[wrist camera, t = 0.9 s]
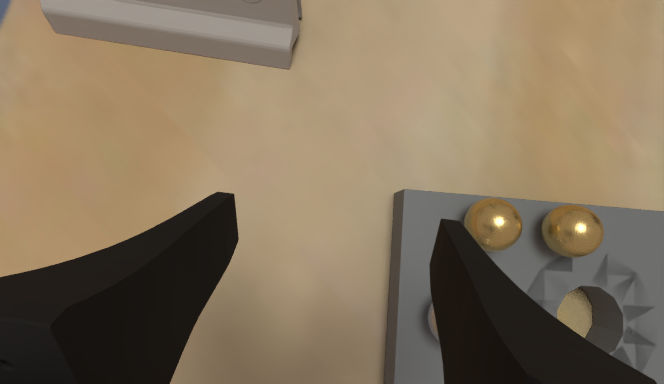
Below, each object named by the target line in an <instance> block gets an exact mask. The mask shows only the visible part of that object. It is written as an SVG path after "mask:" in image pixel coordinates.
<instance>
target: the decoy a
mask: <svg viewBox="0 0 664 384" xmlns="http://www.w3.org/2000/svg"><path fill="white" fill-rule="evenodd" d="M464 227H465V228H466V229H467V230H468V232H469V233H470V234H471V235H472V237H473V238H474V239H475V240H476V242H477V243H478V244H479V245H480V246H481V248H482V249H483V250H485V251H490V252H499V251H503V250H506V249H508V248H510V247H511V246H513V245H514V244H515V243H516V242H517V240H518V239H519V237H520V235H521V233H522V219H521V216H520V214H519V212H518V211H517V209H516V208H515V207H514V206H513V205H512V204H510V203H509V202H507V201H505V200H502V199H498V198H486V199H482V200H480V201H478V202H476V203H474V204H473V205H472V206H471V207H470V208H469V210H468V211H467V213H466V215H465V218H464Z"/></svg>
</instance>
